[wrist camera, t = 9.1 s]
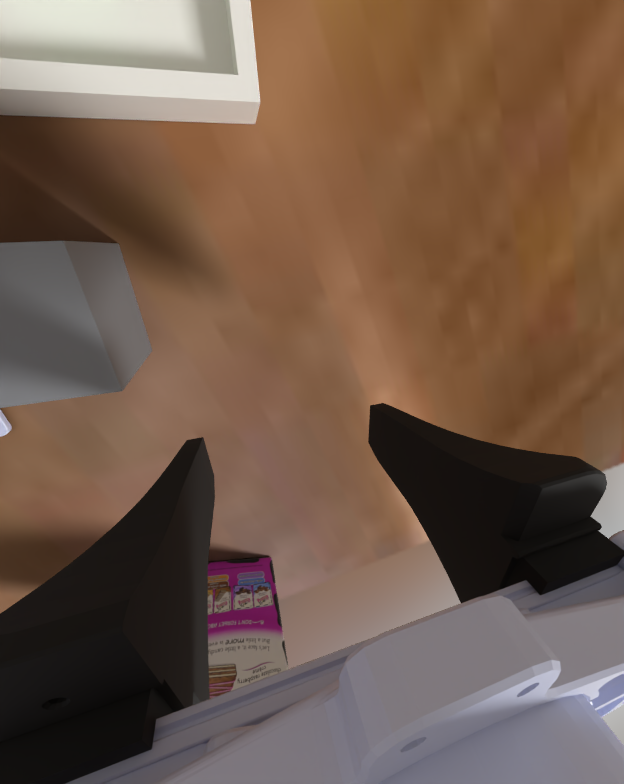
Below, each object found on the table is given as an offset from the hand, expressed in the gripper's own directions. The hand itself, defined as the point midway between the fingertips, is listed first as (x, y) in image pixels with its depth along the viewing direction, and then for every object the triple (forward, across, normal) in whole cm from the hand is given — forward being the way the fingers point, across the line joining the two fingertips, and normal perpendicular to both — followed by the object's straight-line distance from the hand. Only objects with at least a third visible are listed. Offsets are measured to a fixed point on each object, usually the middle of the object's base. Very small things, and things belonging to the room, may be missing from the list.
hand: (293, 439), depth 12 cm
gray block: (+10, +10, -5) cm, 15 cm away
